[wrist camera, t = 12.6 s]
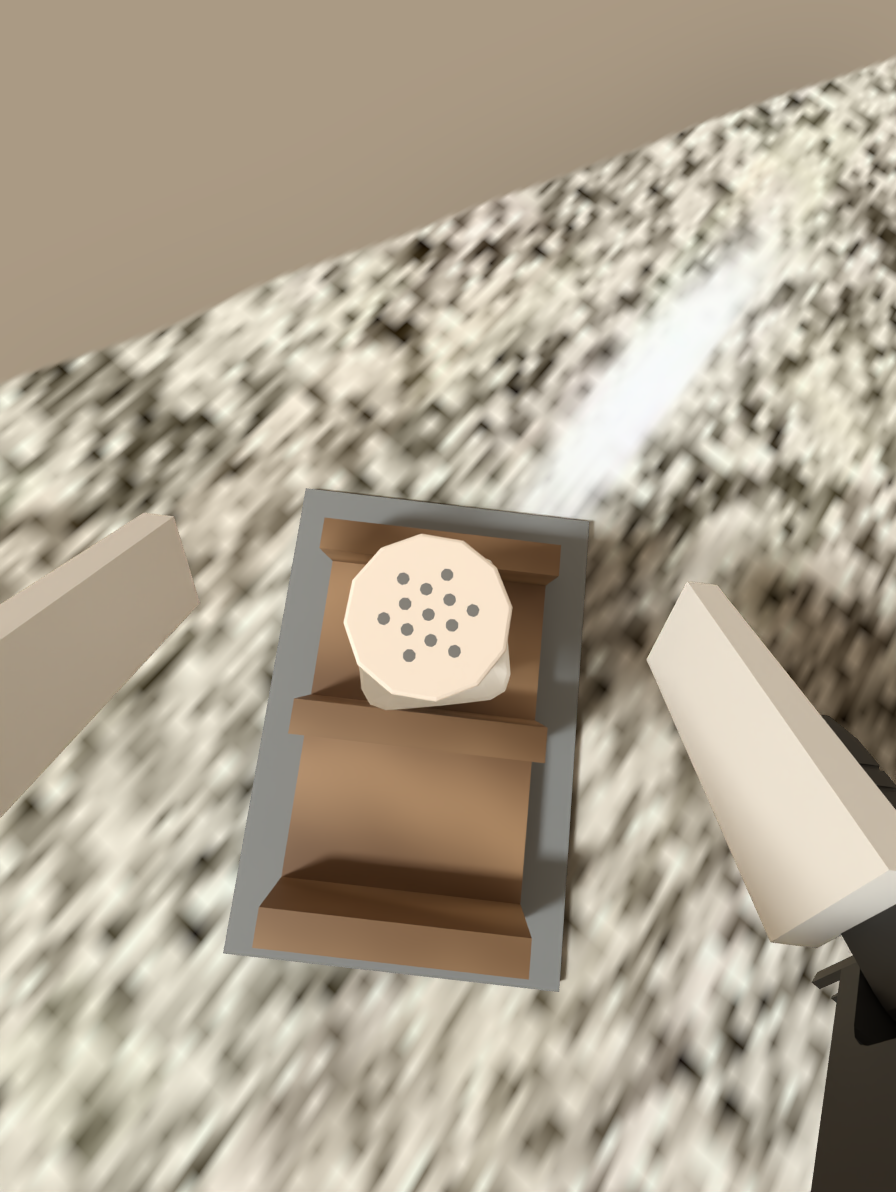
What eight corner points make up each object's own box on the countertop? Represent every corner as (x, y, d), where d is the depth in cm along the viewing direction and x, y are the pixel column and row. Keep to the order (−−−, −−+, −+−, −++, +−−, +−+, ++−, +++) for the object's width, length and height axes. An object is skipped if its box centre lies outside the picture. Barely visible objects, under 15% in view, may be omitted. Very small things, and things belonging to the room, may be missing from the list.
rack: (513, 923, 17) (528, 979, 14) (285, 897, 17) (251, 947, 14) (542, 563, 19) (561, 545, 16) (342, 540, 19) (324, 517, 16)
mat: (308, 492, 20) (305, 488, 19) (586, 524, 20) (589, 521, 19) (228, 946, 17) (223, 953, 16) (556, 984, 17) (558, 991, 16)
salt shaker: (389, 695, 17) (327, 735, 8) (381, 597, 18) (316, 521, 8) (488, 686, 17) (547, 713, 8) (477, 589, 18) (521, 504, 8)
